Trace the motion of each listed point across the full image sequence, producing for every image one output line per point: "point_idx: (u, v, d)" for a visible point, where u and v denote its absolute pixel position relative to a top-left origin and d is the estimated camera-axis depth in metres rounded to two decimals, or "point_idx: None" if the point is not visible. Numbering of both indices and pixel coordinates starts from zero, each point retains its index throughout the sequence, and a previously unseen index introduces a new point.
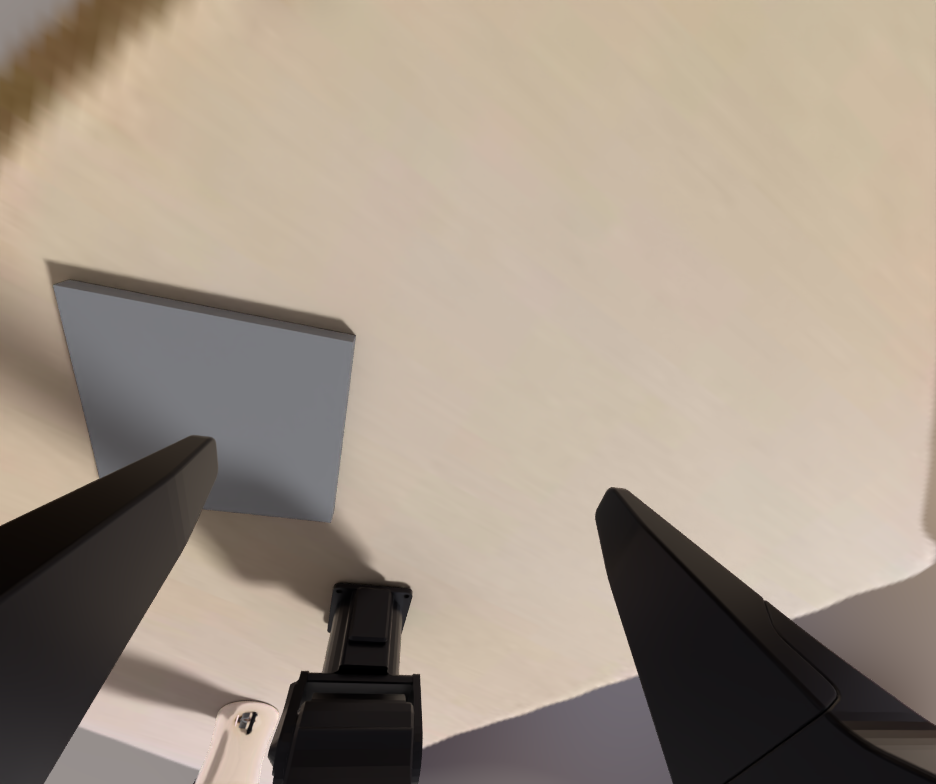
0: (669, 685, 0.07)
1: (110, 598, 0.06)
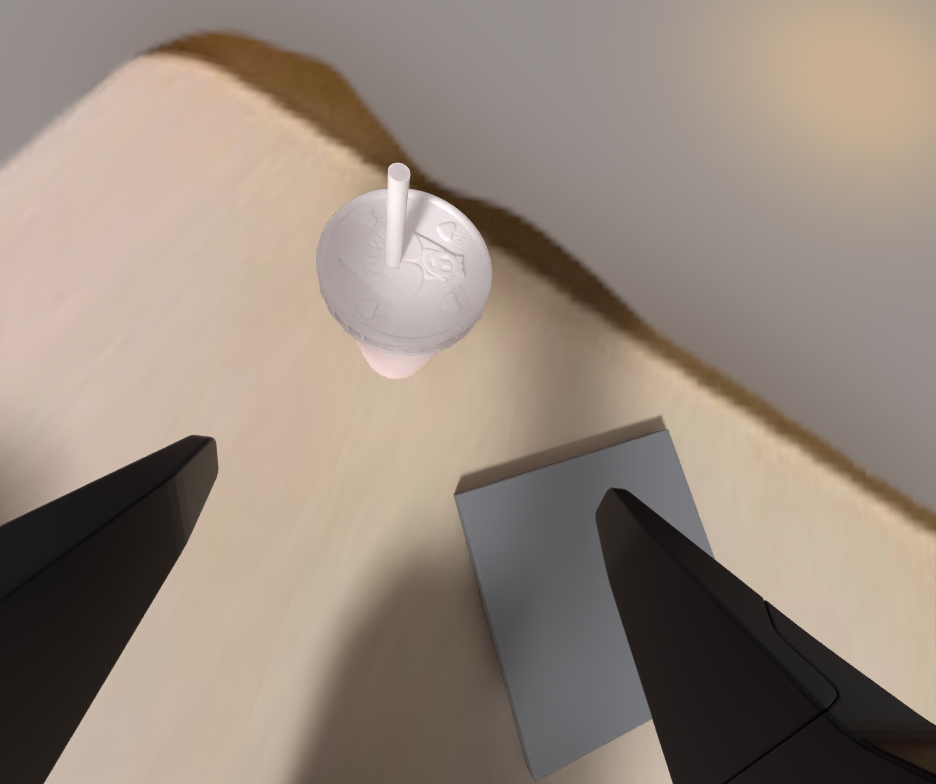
0: (669, 685, 0.07)
1: (110, 598, 0.06)
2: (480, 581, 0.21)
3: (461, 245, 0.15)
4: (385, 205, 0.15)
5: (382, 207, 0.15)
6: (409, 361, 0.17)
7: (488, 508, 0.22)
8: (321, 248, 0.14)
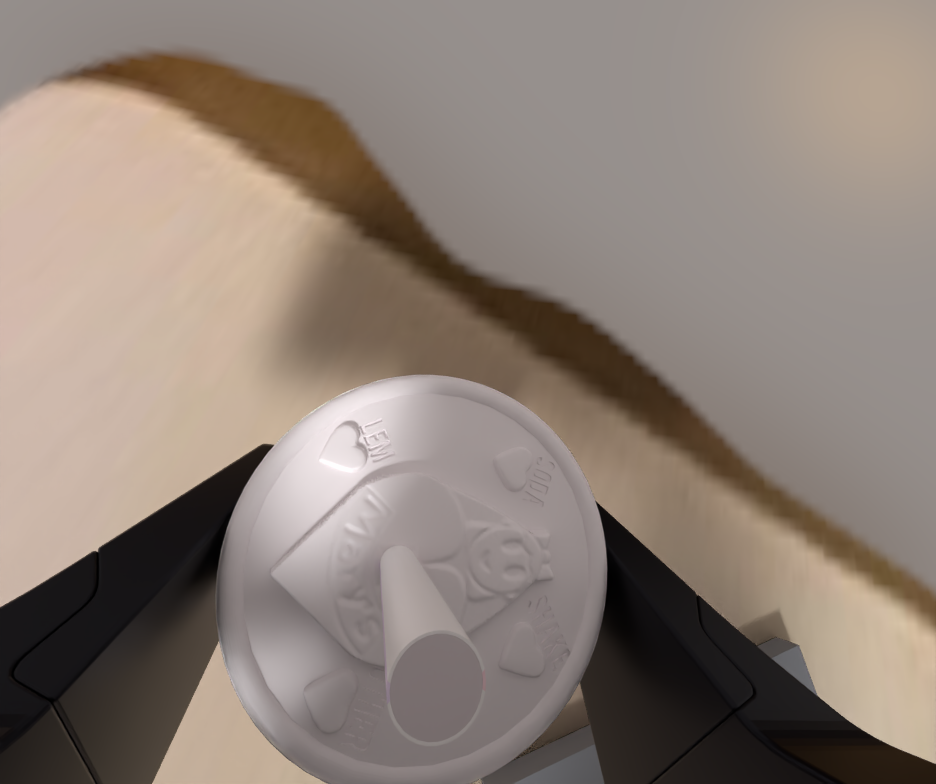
0: (603, 683, 0.07)
1: (209, 603, 0.06)
2: None
3: (543, 498, 0.07)
4: (388, 419, 0.07)
5: (380, 423, 0.07)
6: None
7: None
8: (233, 542, 0.06)
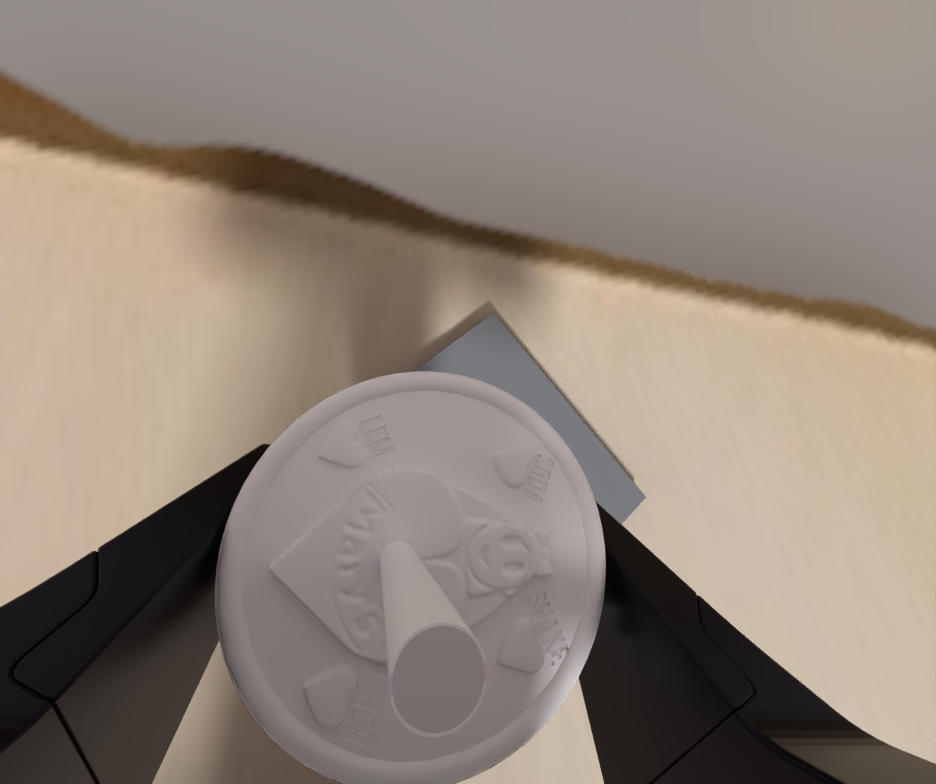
0: (603, 683, 0.07)
1: (208, 603, 0.06)
2: None
3: (542, 495, 0.07)
4: (387, 415, 0.07)
5: (379, 419, 0.07)
6: None
7: None
8: (232, 538, 0.06)
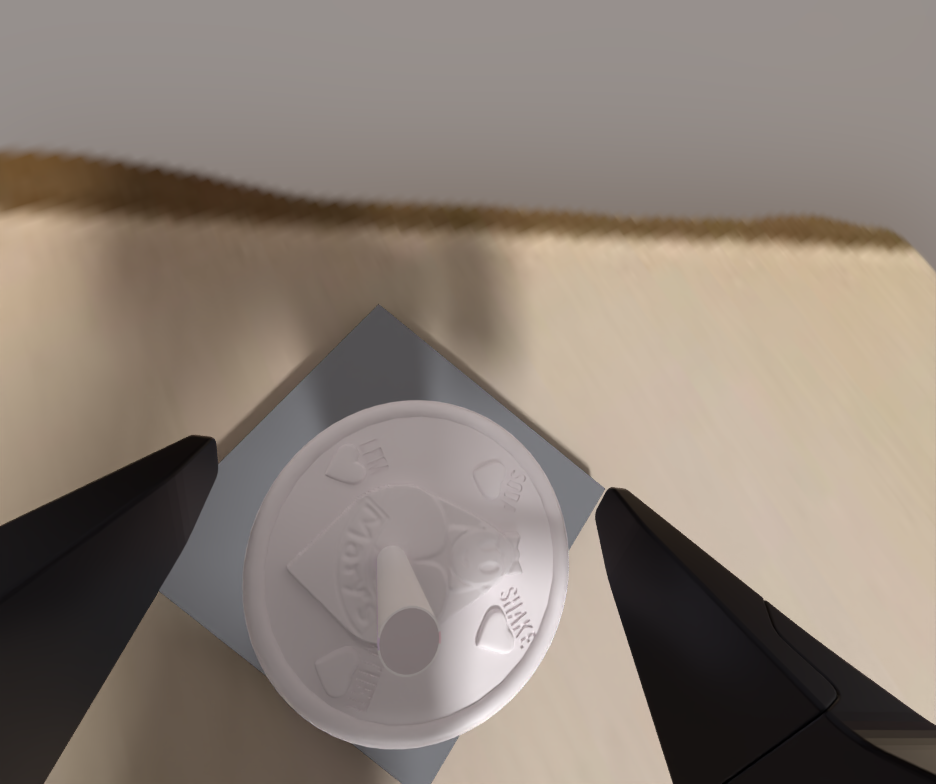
0: (669, 685, 0.07)
1: (110, 598, 0.06)
2: (221, 637, 0.15)
3: (515, 505, 0.08)
4: (383, 439, 0.08)
5: (376, 442, 0.08)
6: None
7: None
8: (255, 544, 0.07)
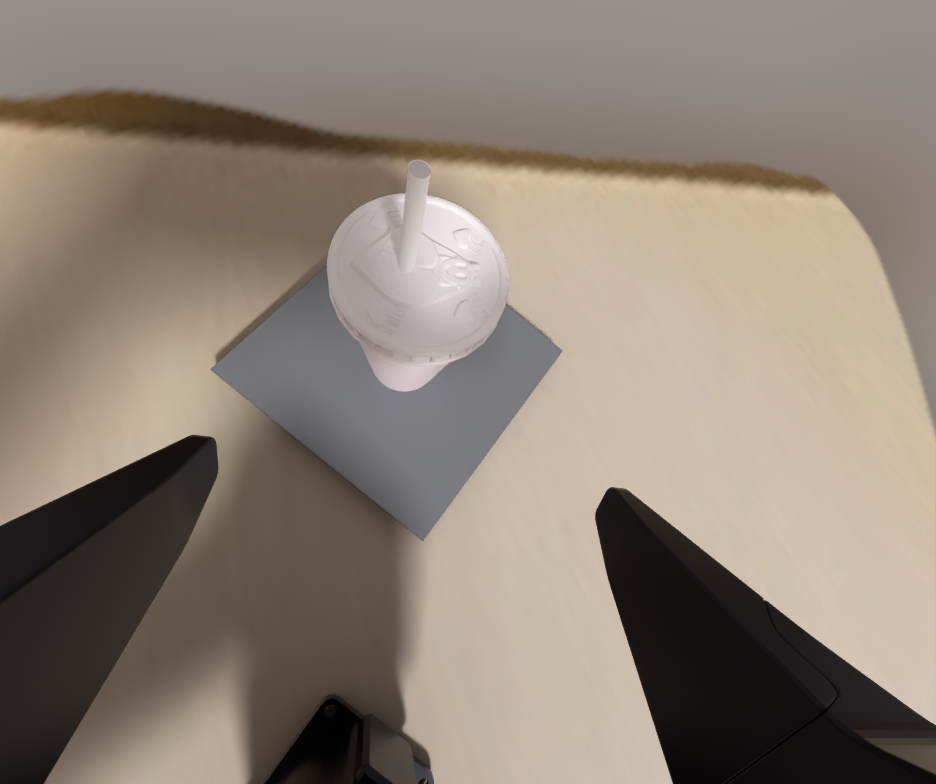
0: (669, 685, 0.07)
1: (110, 598, 0.06)
2: (280, 425, 0.21)
3: (477, 253, 0.15)
4: (400, 210, 0.14)
5: (397, 212, 0.14)
6: (418, 372, 0.17)
7: (249, 363, 0.21)
8: (333, 251, 0.13)
